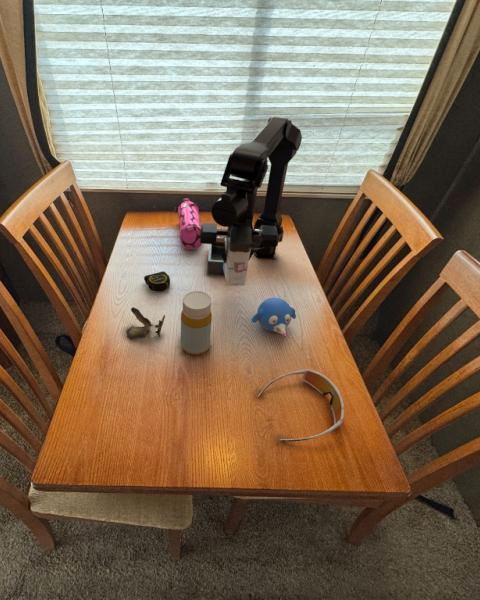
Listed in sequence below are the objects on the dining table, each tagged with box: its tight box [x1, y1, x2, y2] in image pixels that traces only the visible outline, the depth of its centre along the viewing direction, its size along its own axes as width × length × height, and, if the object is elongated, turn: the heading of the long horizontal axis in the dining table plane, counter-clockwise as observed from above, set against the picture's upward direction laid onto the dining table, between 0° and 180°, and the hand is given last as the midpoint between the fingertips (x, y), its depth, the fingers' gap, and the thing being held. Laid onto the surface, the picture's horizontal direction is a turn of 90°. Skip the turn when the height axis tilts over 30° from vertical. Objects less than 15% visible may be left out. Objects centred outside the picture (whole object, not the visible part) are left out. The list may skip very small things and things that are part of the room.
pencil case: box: [173, 198, 203, 250], centre depth 116 cm, size 21×10×10 cm, turn 7°
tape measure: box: [143, 271, 171, 293], centre depth 95 cm, size 7×7×4 cm
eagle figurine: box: [125, 306, 166, 339], centre depth 80 cm, size 8×7×9 cm
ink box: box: [223, 238, 251, 287], centre depth 84 cm, size 9×5×12 cm, turn 5°
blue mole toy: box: [251, 297, 297, 338], centre depth 81 cm, size 12×12×8 cm
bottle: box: [180, 290, 213, 356], centre depth 74 cm, size 7×7×15 cm
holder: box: [206, 240, 226, 276], centre depth 104 cm, size 9×13×5 cm
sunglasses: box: [257, 368, 345, 442], centre depth 66 cm, size 14×15×5 cm
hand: (235, 262), depth 84 cm, fingers closed on ink box, 5 cm apart
